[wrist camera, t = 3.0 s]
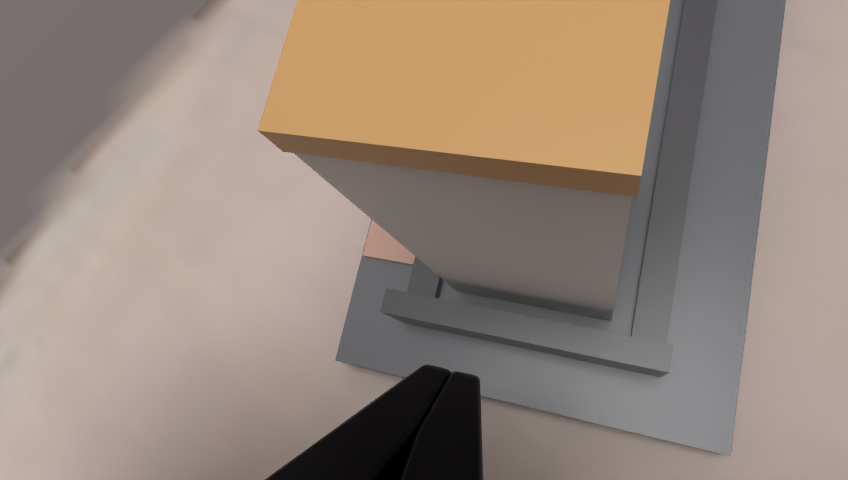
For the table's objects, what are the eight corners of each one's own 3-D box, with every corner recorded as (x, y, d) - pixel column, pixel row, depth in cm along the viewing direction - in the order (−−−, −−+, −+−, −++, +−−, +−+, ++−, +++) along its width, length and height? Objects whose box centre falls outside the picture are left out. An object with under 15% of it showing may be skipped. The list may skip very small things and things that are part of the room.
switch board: (722, 453, 15) (751, 463, 12) (348, 363, 18) (303, 354, 15) (784, -46, 18) (819, -131, 15) (452, -50, 21) (429, -122, 18)
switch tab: (613, 323, 15) (641, 176, 6) (454, 292, 16) (257, 130, 7) (639, 168, 16) (701, -188, 6) (486, 150, 17) (349, -170, 8)
